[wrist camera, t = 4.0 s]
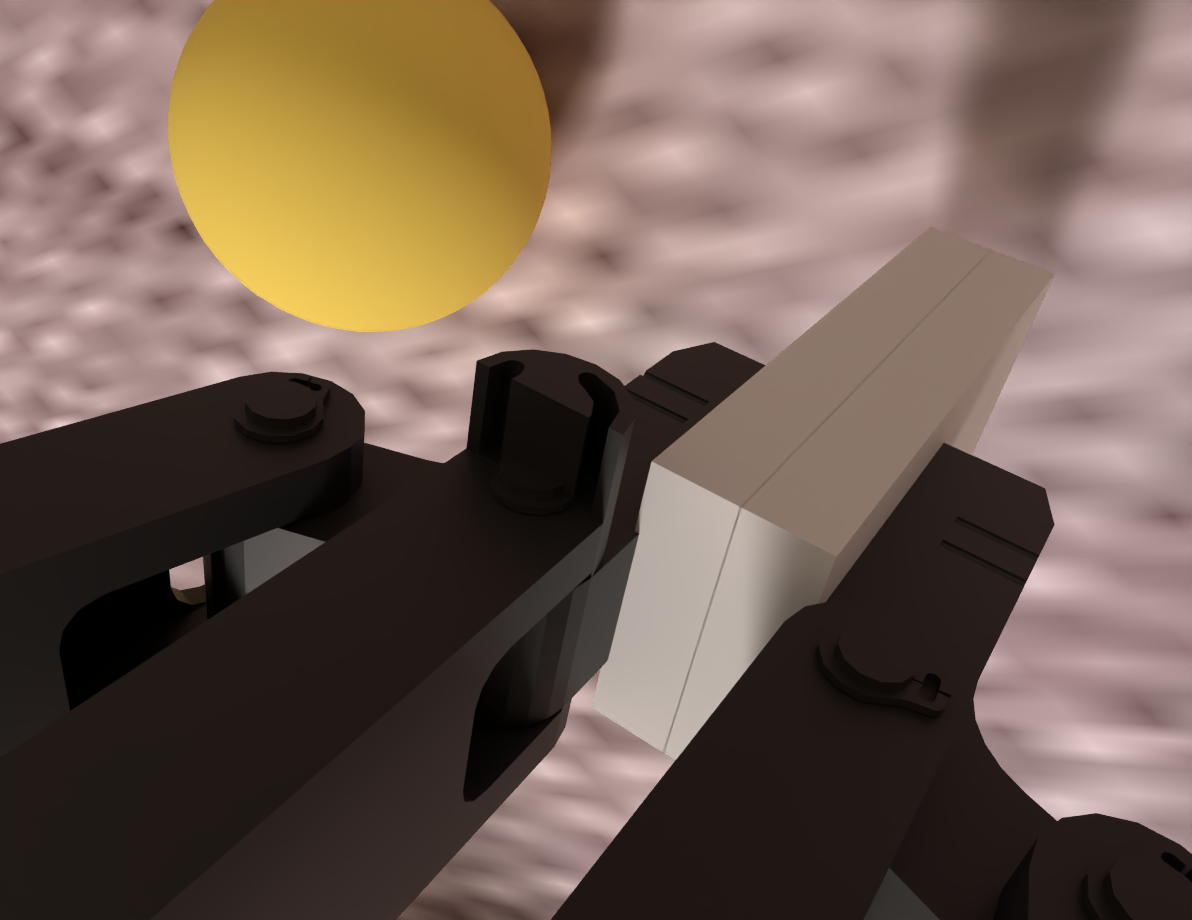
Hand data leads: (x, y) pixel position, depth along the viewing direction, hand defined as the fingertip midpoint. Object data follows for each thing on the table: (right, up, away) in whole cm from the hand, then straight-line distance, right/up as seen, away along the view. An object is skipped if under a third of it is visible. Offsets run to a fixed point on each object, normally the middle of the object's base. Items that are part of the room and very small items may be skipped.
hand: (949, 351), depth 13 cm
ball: (-8, +3, +3) cm, 9 cm away
